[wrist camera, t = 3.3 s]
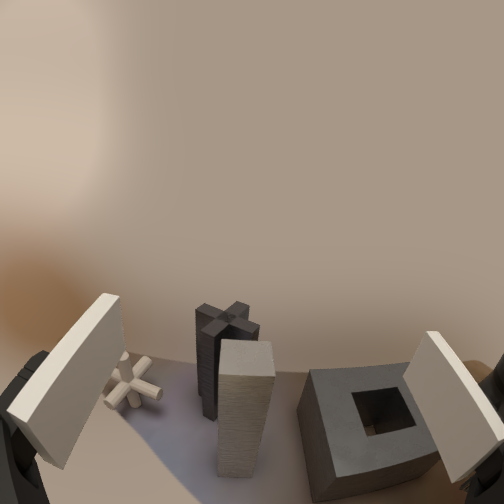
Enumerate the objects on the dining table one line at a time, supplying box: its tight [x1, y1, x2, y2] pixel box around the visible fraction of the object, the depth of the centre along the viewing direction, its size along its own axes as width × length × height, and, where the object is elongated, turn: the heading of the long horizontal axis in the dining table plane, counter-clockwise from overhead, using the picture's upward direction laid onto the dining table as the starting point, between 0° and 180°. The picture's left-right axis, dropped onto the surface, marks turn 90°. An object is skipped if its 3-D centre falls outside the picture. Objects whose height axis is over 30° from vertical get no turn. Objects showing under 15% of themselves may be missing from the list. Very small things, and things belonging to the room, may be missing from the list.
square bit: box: [218, 339, 275, 478], centre depth 24 cm, size 4×4×20 cm
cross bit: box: [195, 301, 260, 421], centre depth 35 cm, size 8×8×16 cm
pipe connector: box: [103, 352, 163, 410], centre depth 33 cm, size 10×10×10 cm
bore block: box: [297, 362, 441, 503], centre depth 29 cm, size 16×16×9 cm
